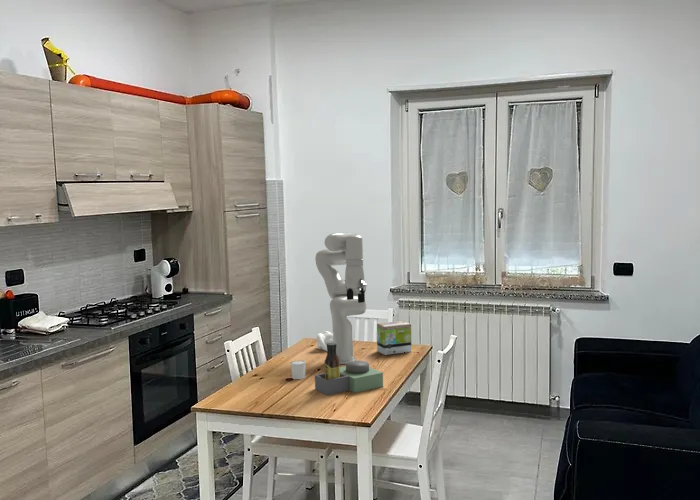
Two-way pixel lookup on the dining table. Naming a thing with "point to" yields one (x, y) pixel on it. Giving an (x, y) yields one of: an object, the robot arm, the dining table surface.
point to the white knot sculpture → (324, 340)
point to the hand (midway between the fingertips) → (355, 300)
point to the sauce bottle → (332, 362)
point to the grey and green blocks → (350, 379)
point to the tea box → (393, 337)
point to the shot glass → (298, 369)
